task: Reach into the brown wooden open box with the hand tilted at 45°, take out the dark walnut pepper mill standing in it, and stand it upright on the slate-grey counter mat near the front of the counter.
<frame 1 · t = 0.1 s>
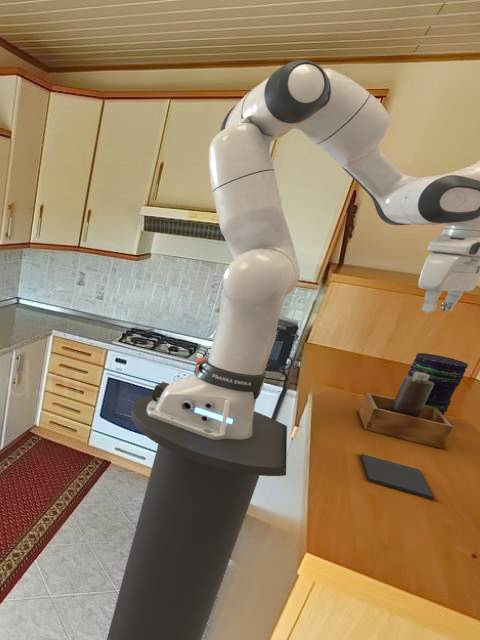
hand: (436, 311, 106), 27 cm above the worktop, tool pointing down, fingers open, 8 cm apart
counter mat: (393, 476, 90), on the worktop
pepper mill: (398, 426, 114), point 1 cm above the worktop, touching brown wooden open box
storage jar: (416, 414, 125), on the worktop
brown wooden open box: (397, 429, 114), on the worktop
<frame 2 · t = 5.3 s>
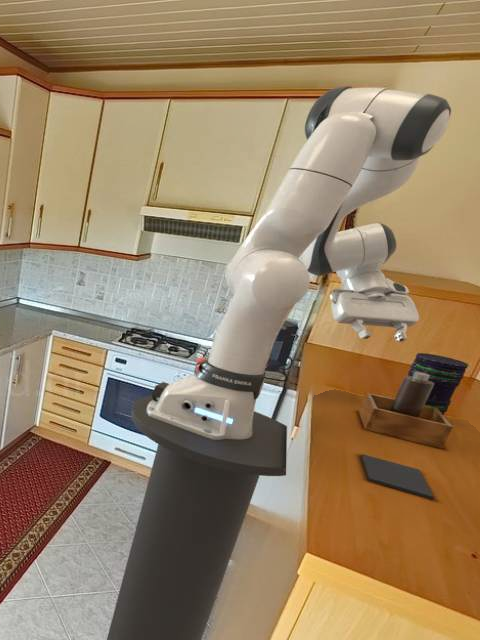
hand: (383, 339, 119), 18 cm above the worktop, tool tilted 45°, fingers open, 8 cm apart
nothing on the worktop moved.
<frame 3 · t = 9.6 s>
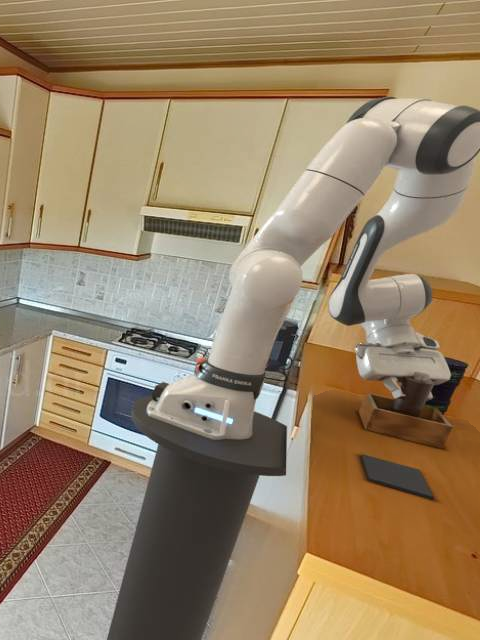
hand: (413, 398, 110), 8 cm above the worktop, tool tilted 45°, fingers closed on pepper mill, 5 cm apart
pepper mill: (398, 425, 114), point 1 cm above the worktop, touching brown wooden open box, gripper
everything else where it was.
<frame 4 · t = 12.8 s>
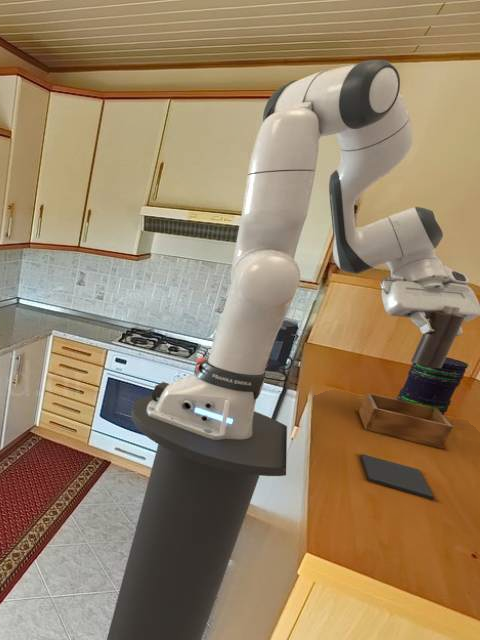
hand: (443, 334, 105), 23 cm above the worktop, tool tilted 45°, fingers closed on pepper mill, 5 cm apart
pepper mill: (425, 364, 108), point 16 cm above the worktop, touching gripper
everything else where it was.
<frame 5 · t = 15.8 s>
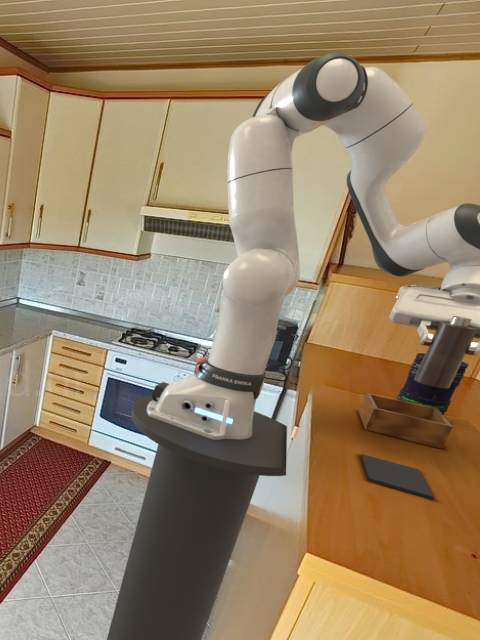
hand: (448, 348, 91), 23 cm above the worktop, tool tilted 45°, fingers closed on pepper mill, 5 cm apart
pepper mill: (431, 383, 94), point 16 cm above the worktop, touching gripper
everything else where it was.
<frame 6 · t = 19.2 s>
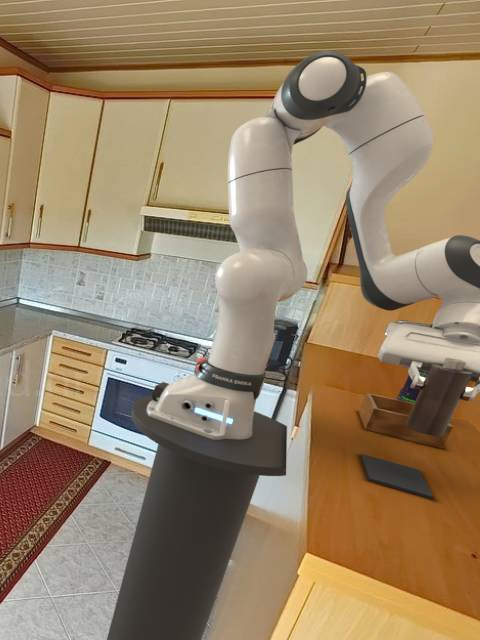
hand: (441, 393, 83), 17 cm above the worktop, tool tilted 45°, fingers closed on pepper mill, 5 cm apart
pepper mill: (423, 429, 86), point 10 cm above the worktop, touching gripper
everything else where it was.
when the fingers open (8 cm above the worktop, at t = 22.3 s): pepper mill stays where it is, resting on counter mat.
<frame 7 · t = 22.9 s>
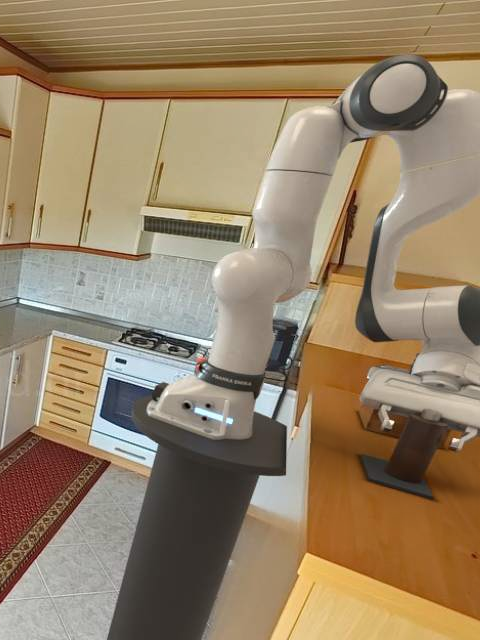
hand: (418, 439, 87), 8 cm above the worktop, tool tilted 45°, fingers open, 8 cm apart
pepper mill: (402, 475, 90), point 1 cm above the worktop, touching counter mat
everything else where it was.
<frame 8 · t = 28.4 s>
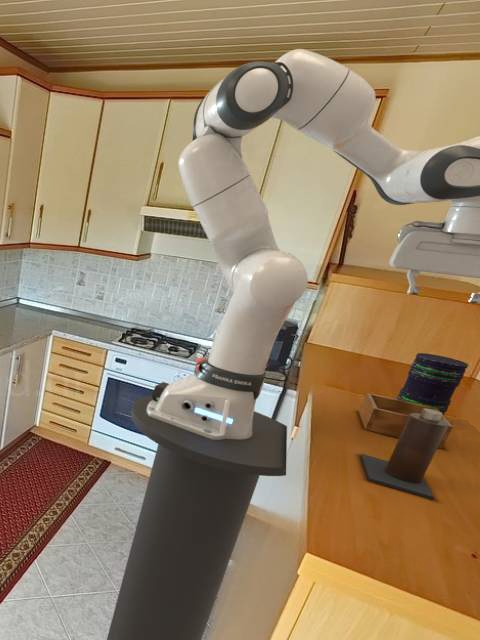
hand: (442, 298, 96), 31 cm above the worktop, tool pointing down, fingers open, 8 cm apart
nothing on the worktop moved.
at the end: pepper mill inside the target area on the counter mat (1.1 cm from its centre), point 0.6 cm above the counter mat's base; pepper mill tilted 0°; the gripper is holding nothing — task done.
